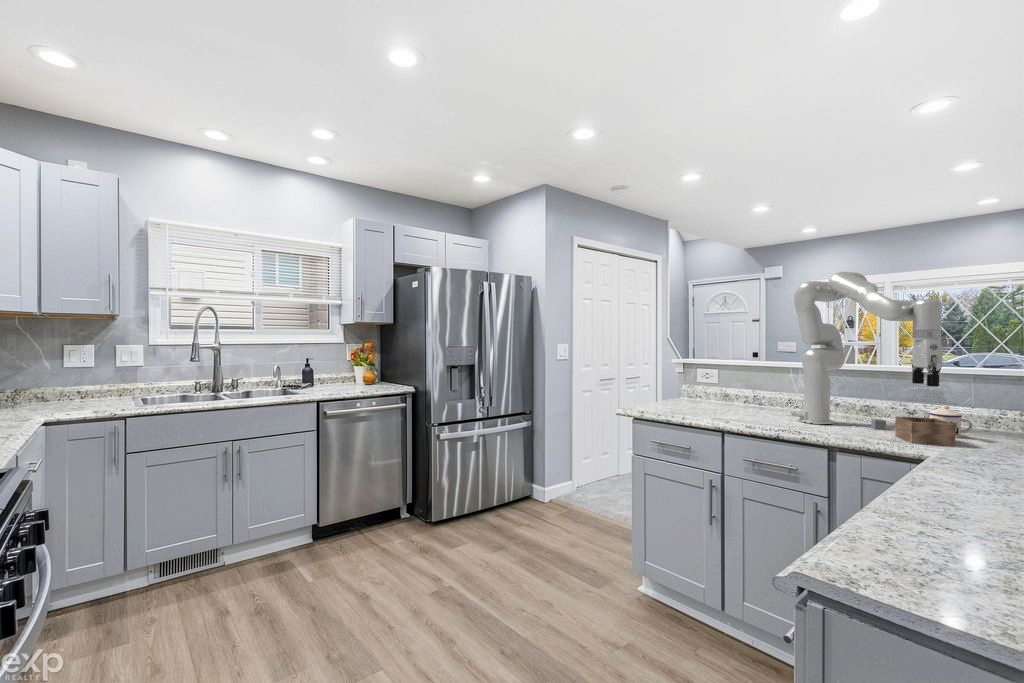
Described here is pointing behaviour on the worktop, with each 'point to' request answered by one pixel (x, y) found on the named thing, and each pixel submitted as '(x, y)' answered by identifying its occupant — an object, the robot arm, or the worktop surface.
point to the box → (925, 431)
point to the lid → (877, 424)
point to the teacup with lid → (950, 419)
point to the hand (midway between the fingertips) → (925, 384)
